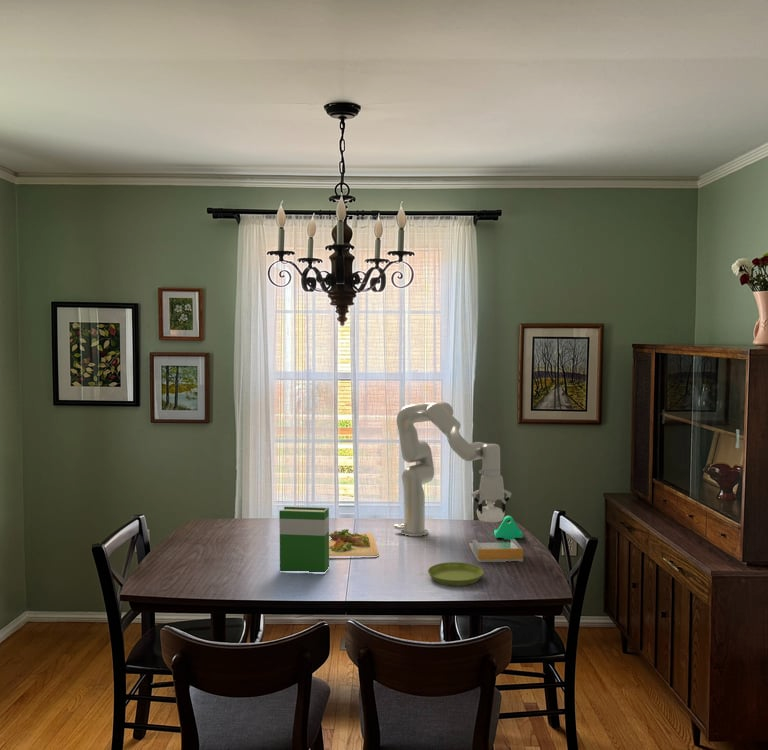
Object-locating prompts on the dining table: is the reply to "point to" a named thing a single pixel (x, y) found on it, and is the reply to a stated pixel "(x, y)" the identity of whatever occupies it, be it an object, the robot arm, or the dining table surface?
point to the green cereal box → (304, 539)
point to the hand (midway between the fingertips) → (491, 512)
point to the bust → (490, 513)
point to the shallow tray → (497, 551)
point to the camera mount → (508, 530)
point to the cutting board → (352, 544)
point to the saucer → (455, 573)
